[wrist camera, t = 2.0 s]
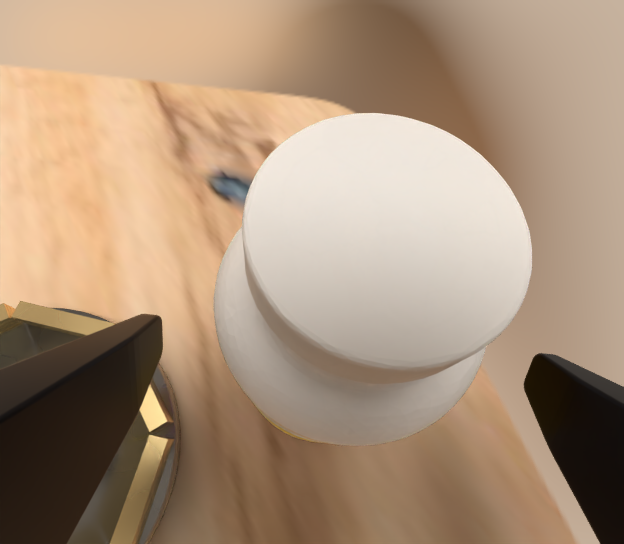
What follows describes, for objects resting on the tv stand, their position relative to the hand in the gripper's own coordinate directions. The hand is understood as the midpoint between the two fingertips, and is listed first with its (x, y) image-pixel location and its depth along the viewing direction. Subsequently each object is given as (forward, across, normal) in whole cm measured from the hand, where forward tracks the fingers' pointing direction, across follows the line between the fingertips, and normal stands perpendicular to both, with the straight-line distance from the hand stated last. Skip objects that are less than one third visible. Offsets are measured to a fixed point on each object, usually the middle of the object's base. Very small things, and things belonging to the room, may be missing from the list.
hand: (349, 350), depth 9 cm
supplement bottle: (+7, 0, +6) cm, 9 cm away
